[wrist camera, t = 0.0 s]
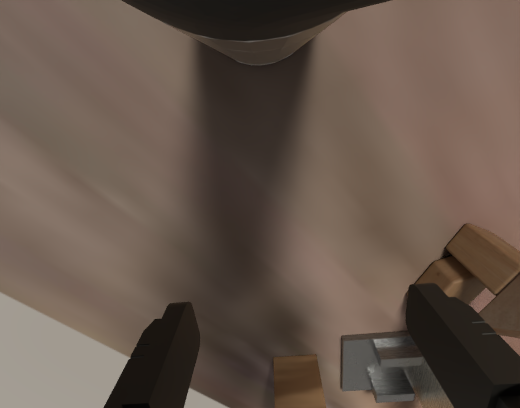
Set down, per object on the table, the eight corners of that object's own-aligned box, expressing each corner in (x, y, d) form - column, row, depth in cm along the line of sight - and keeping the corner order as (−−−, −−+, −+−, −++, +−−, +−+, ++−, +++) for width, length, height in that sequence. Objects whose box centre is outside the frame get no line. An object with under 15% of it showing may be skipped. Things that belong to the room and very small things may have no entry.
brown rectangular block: (273, 357, 38) (276, 446, 29) (316, 354, 37) (332, 443, 28) (275, 374, 39) (279, 463, 30) (317, 372, 39) (333, 461, 30)
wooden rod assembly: (493, 232, 28) (800, 443, 12) (429, 301, 33) (592, 524, 16) (464, 220, 28) (747, 426, 12) (403, 293, 32) (546, 515, 16)
